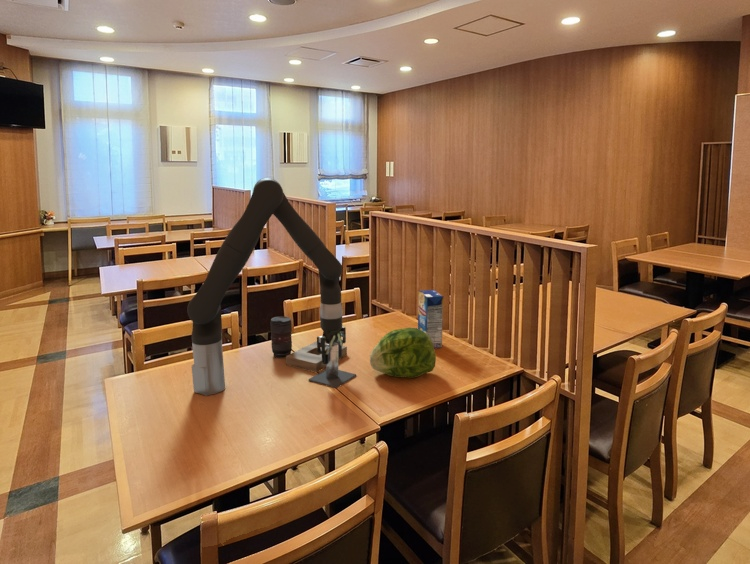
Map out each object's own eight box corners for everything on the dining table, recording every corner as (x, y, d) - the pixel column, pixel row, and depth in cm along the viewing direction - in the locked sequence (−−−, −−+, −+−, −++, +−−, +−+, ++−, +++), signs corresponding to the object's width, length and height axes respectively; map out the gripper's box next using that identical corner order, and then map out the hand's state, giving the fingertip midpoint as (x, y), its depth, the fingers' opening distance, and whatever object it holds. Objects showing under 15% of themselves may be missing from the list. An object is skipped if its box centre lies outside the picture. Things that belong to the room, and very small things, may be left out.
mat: (336, 388, 167) (336, 386, 167) (308, 380, 173) (308, 379, 173) (356, 375, 177) (356, 374, 177) (328, 368, 183) (328, 367, 183)
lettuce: (366, 342, 187) (363, 328, 170) (427, 330, 188) (429, 315, 171) (375, 389, 181) (372, 380, 164) (438, 377, 181) (442, 367, 164)
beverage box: (426, 349, 203) (427, 297, 198) (417, 340, 213) (418, 290, 208) (441, 347, 204) (443, 296, 199) (432, 339, 215) (433, 289, 210)
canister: (333, 380, 172) (333, 347, 169) (323, 377, 174) (323, 345, 171) (340, 375, 176) (340, 343, 173) (330, 373, 178) (330, 341, 175)
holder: (316, 372, 180) (315, 363, 179) (286, 364, 187) (285, 356, 186) (346, 354, 197) (346, 346, 196) (318, 348, 204) (318, 340, 203)
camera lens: (290, 358, 193) (289, 322, 189) (269, 358, 193) (268, 321, 189) (294, 351, 200) (293, 315, 197) (274, 351, 201) (272, 315, 197)
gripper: (327, 322, 162) (328, 369, 166) (351, 311, 174) (352, 355, 178) (309, 318, 166) (311, 364, 169) (334, 308, 178) (335, 351, 181)
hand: (332, 359), depth 173 cm, fingers open, 7 cm apart
